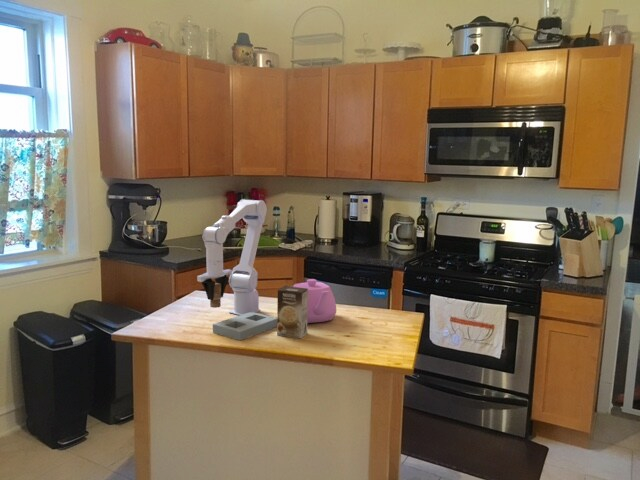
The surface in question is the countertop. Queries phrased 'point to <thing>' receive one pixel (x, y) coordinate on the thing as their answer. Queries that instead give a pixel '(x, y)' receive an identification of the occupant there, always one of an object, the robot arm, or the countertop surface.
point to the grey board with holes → (245, 325)
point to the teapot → (319, 301)
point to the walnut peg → (216, 296)
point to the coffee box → (292, 311)
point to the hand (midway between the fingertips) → (215, 298)
